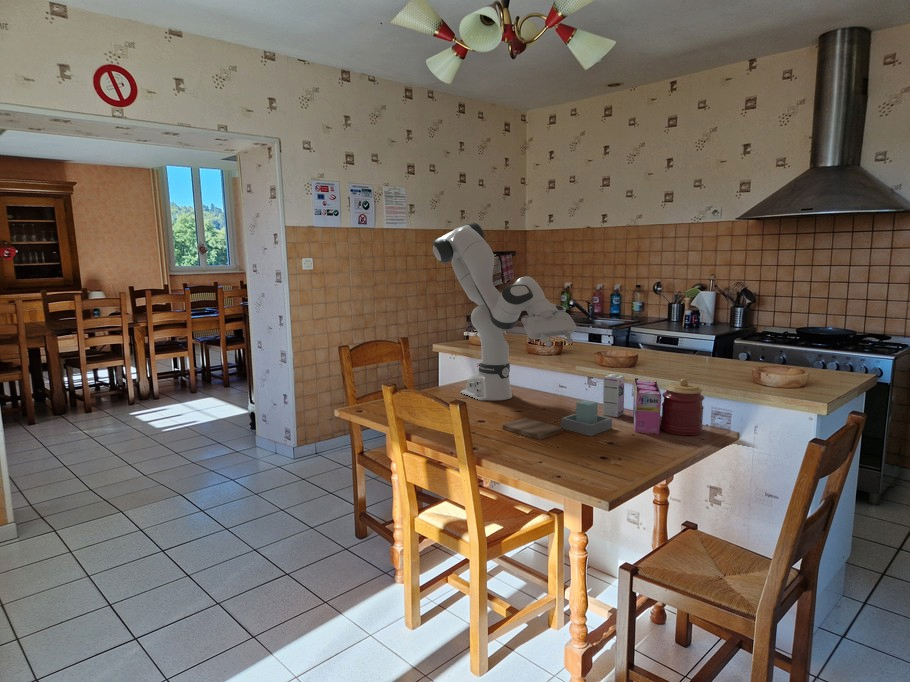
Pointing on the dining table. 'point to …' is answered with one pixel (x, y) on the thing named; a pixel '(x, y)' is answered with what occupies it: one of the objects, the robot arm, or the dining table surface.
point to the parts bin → (586, 425)
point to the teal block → (586, 412)
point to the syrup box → (613, 395)
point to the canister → (682, 409)
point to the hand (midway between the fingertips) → (560, 344)
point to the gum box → (646, 406)
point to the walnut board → (532, 428)
